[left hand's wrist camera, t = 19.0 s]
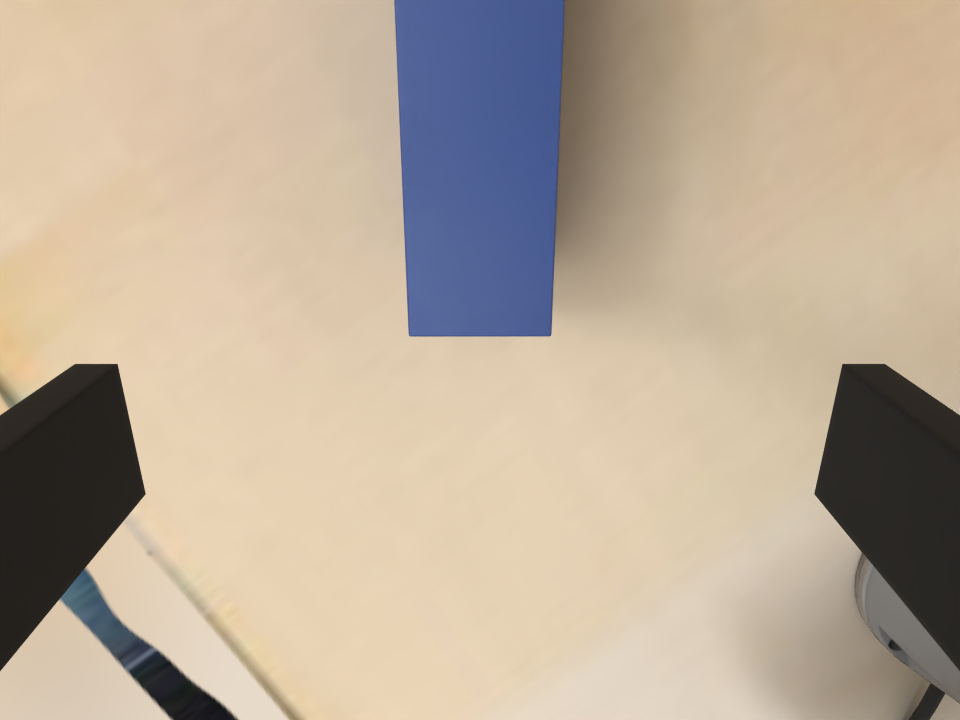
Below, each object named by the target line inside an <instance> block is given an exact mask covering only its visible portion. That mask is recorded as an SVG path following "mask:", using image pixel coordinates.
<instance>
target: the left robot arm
mask: <svg viewBox="0 0 960 720" xmlns="http://www.w3.org/2000/svg"><path fill="white" fill-rule="evenodd" d="M144 495H145V489H144V485H143V480H142V475H141V471H140V466H139V462H138V457H137V452H136V448H135V443H134V438H133V434H132V429H131V424H130V420H129V415H128V411H127V406H126V401H125V397H124V392H123V387H122V383H121V378H120V374H119V369H118V364H75V365H73V366H72V367H70V368H69V369H67V370H66V371H64V372H63V373H61V374H60V375H59V376H57V377H56V378H54V379H53V380H51V381H50V382H48V383H47V384H45V385H44V386H42V387H41V388H40V389H38V390H37V391H35V392H34V393H32V394H31V395H29V396H28V397H26V398H25V399H23V400H22V401H21V402H19V403H18V404H16V405H15V406H13V407H12V408H10V409H9V410H7V411H6V412H5V413H3V414H2V415H0V671H1V670H2V668H3V667H4V666H5V665H6V663H7V662H8V661H9V660H10V659H11V657H12V656H13V655H14V654H15V653H16V651H17V650H18V649H19V648H20V646H21V645H22V644H23V643H24V642H25V640H26V639H27V638H28V637H29V635H30V634H31V633H32V632H33V631H34V629H35V628H36V627H37V626H38V624H39V623H40V622H41V621H42V620H43V618H44V617H45V616H46V615H47V614H48V612H49V611H50V610H51V609H52V607H53V606H54V605H55V604H56V603H57V601H58V600H59V599H60V598H61V596H62V595H63V594H64V593H65V592H66V590H67V589H68V588H69V587H70V586H71V584H72V583H73V582H74V581H75V579H76V578H77V577H78V576H79V575H80V573H81V572H82V571H83V570H84V568H85V567H86V566H87V565H88V564H89V562H90V561H91V560H92V559H93V557H94V556H95V555H96V554H97V553H98V551H99V550H100V549H101V548H102V547H103V545H104V544H105V543H106V542H107V540H108V539H109V538H110V537H111V536H112V534H113V533H114V532H115V531H116V529H117V528H118V527H119V526H120V525H121V523H122V522H123V521H124V520H125V519H126V517H127V516H128V515H129V514H130V512H131V511H132V510H133V509H134V508H135V506H136V505H137V504H138V503H139V501H140V500H141V499H142V498H143V497H144ZM815 495H816V497H817V498H818V499H819V500H820V501H821V503H822V504H823V505H824V506H825V508H826V509H827V510H828V511H829V512H830V514H831V515H832V516H833V517H834V519H835V520H836V521H837V522H838V523H839V525H840V526H841V527H842V528H843V529H844V531H845V532H846V533H847V534H848V536H849V537H850V538H851V539H852V540H853V542H854V543H855V544H856V545H857V547H858V548H859V549H860V550H861V551H862V553H863V555H862V557H861V560H860V563H859V566H858V568H857V573H856V578H855V597H856V603H857V606H858V609H859V612H860V614H861V616H862V618H863V619H864V621H865V622H866V624H867V625H868V627H869V628H870V630H871V631H872V632H873V634H874V635H875V637H876V638H877V639H878V640H879V641H880V643H881V644H883V645H884V646H885V647H886V649H887V650H888V651H889V652H890V653H892V654H893V655H894V656H895V657H896V658H897V659H899V660H900V661H901V662H903V663H904V664H906V665H907V666H909V667H910V668H911V669H913V670H914V671H915V672H917V673H918V674H920V675H921V676H922V677H924V678H925V679H926V680H928V681H929V682H931V684H930V686H929V687H928V689H927V691H926V693H925V695H924V697H923V698H922V700H921V702H920V703H919V705H918V706H917V708H916V709H915V711H914V712H913V714H912V715H911V717H910V718H909V720H929V719H930V718H931V716H932V715H933V713H934V712H935V710H936V709H937V707H938V705H939V703H940V702H941V700H942V698H943V696H944V695H945V693H946V694H947V695H949V696H950V697H952V698H953V699H954V700H956V701H957V702H958V703H960V415H958V414H957V413H955V412H954V411H953V410H951V409H950V408H948V407H947V406H945V405H944V404H942V403H941V402H939V401H938V400H937V399H935V398H934V397H932V396H931V395H929V394H928V393H926V392H925V391H923V390H922V389H920V388H919V387H918V386H916V385H915V384H913V383H912V382H910V381H909V380H907V379H906V378H904V377H903V376H901V375H900V374H899V373H897V372H896V371H894V370H893V369H891V368H890V367H888V366H887V365H885V364H842V369H841V374H840V378H839V383H838V387H837V392H836V397H835V401H834V406H833V411H832V415H831V420H830V424H829V429H828V434H827V438H826V443H825V448H824V452H823V457H822V461H821V466H820V471H819V475H818V480H817V485H816V489H815Z"/></svg>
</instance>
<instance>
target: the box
mask: <svg viewBox="0 0 960 720" xmlns="http://www.w3.org/2000/svg"><path fill="white" fill-rule="evenodd" d="M564 9H565V0H395V24H396V47H397V70H398V94H399V117H400V140H401V164H402V187H403V210H404V234H405V257H406V280H407V304H408V327H409V336H551V329H552V305H553V280H554V255H555V231H556V206H557V181H558V157H559V132H560V107H561V83H562V58H563V33H564Z"/></svg>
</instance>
